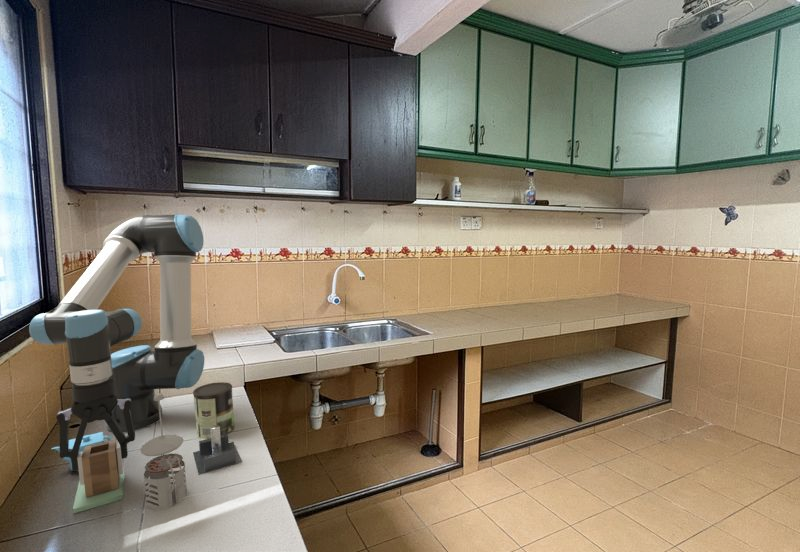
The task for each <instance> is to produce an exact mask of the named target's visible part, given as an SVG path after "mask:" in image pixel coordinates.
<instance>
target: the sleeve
mask: <svg viewBox="0 0 800 552" xmlns="http://www.w3.org/2000/svg"><path fill="white" fill-rule="evenodd" d="M116 448H117V439H114V440H112V439H111V441H104V443H99V444H95V445H91V446H86V447H84V451H83V455H82V467H83V476H84V485H85V494H86V497H89V496H93V495H96V494H100V493H103V492H107V491H110V490H114V489H117V488H119V476H120V475H119V469H118V459H117V449H116Z"/></svg>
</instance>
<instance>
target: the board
mask: <svg viewBox="0 0 800 552" xmlns="http://www.w3.org/2000/svg"><path fill="white" fill-rule="evenodd" d="M125 470H126V469H125V468H123V474H122V475H120V476H119V488H117V489H114V490H110V491H107V492H103V493H100V494H96V495H93V496H89V497H86V494H85V485H81V486H80V480H79V481H78V485H77V490H76V493H75V497H74V502H73V507H72V514H77V513H80V512H83V511H84V512H85V511H87V510H90V509H94V508H97V507H101V506H104V505H108V504H110V503H114V502H117V501H120V500H123V499H124V490H125V489H124V488H125V487H124V486H125V472H126V471H125Z"/></svg>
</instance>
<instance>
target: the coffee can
mask: <svg viewBox="0 0 800 552" xmlns="http://www.w3.org/2000/svg"><path fill="white" fill-rule="evenodd" d="M192 395H193V402H194V415H195V428H196V436H197V437H198V438H200V439H202V440H205V439H209V438H211V430H210V428H211V427H212V426H215V425H219V426H220V436H221V435H225V434H228V435H229V434H230V433H231V432H233V431H234V429H235V416H234V414H235V413H234V400H233V385H232V384H231V383H230V382H229V383H228V382H222V381H221V382H218V381H217V382H212V383H207V384H203V385H201V386H198V387H196V388H195V389H194V390H193V392H192Z"/></svg>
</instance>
